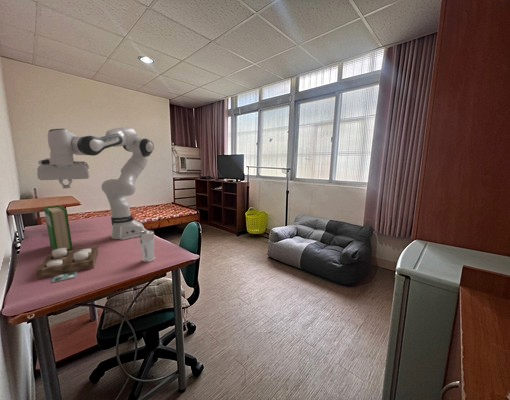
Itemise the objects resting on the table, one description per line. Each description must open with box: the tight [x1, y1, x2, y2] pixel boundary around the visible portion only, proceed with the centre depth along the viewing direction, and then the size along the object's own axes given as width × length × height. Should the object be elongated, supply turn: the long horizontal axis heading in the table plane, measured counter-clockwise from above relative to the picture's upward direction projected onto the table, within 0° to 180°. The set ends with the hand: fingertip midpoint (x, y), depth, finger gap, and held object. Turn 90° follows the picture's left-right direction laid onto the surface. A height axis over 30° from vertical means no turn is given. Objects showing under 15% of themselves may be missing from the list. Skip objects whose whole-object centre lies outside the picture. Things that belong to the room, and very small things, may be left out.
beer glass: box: [139, 229, 156, 263], centre depth 114 cm, size 7×7×15 cm
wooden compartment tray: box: [36, 246, 99, 280], centre depth 110 cm, size 20×20×4 cm
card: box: [51, 271, 79, 284], centre depth 98 cm, size 8×6×1 cm
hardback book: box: [43, 205, 73, 251], centre depth 129 cm, size 18×7×24 cm, turn 50°
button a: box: [78, 248, 92, 253], centre depth 116 cm, size 6×6×3 cm
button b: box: [51, 248, 68, 259], centre depth 111 cm, size 6×6×3 cm
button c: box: [73, 251, 89, 262], centre depth 107 cm, size 6×6×3 cm
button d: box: [46, 260, 63, 267], centre depth 103 cm, size 6×6×3 cm
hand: (66, 188), depth 114 cm, fingers closed
